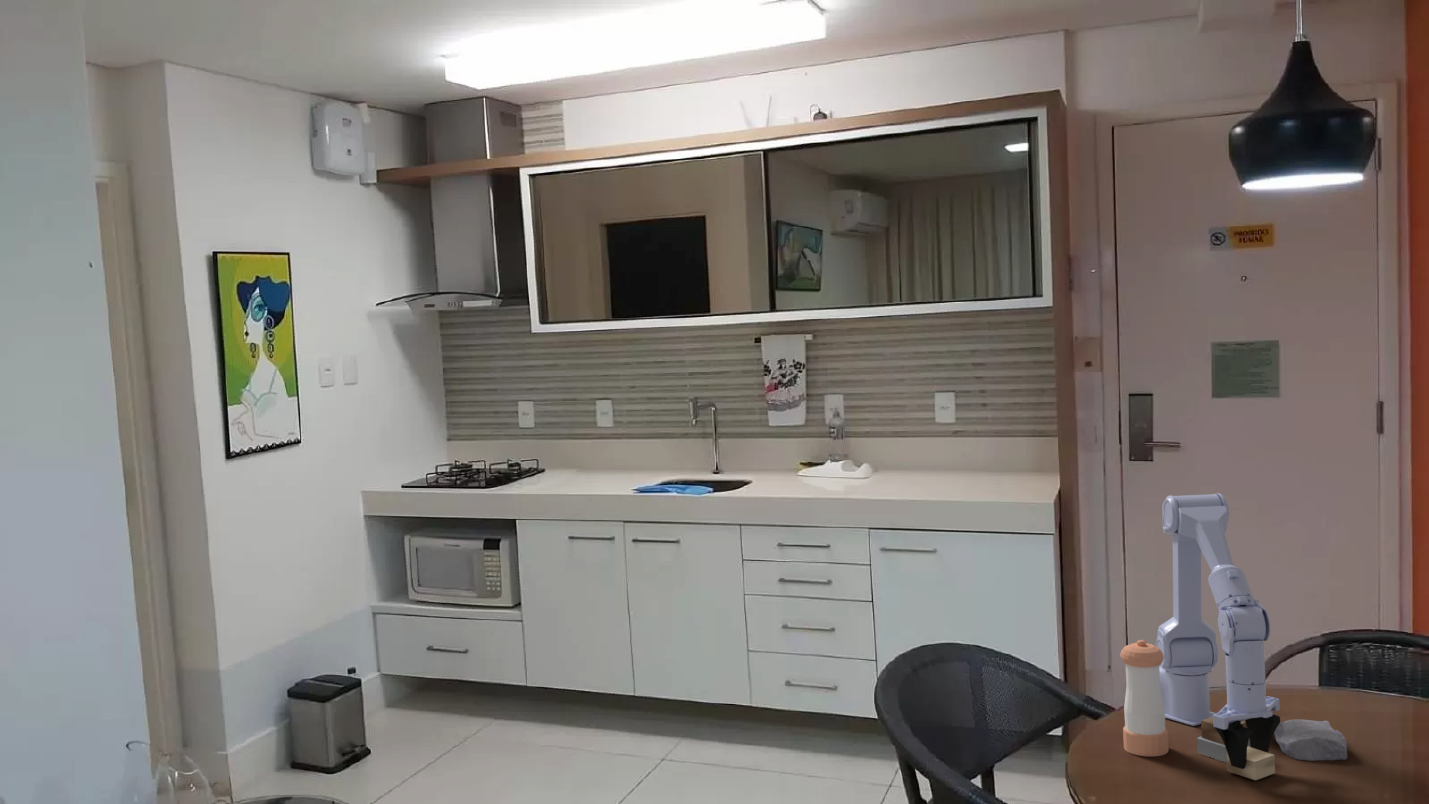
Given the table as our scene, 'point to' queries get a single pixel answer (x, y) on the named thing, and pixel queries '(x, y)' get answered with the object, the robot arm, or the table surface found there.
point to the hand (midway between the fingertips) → (1248, 762)
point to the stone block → (1310, 740)
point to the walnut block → (1212, 730)
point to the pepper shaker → (1144, 701)
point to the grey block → (1212, 749)
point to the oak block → (1255, 764)
